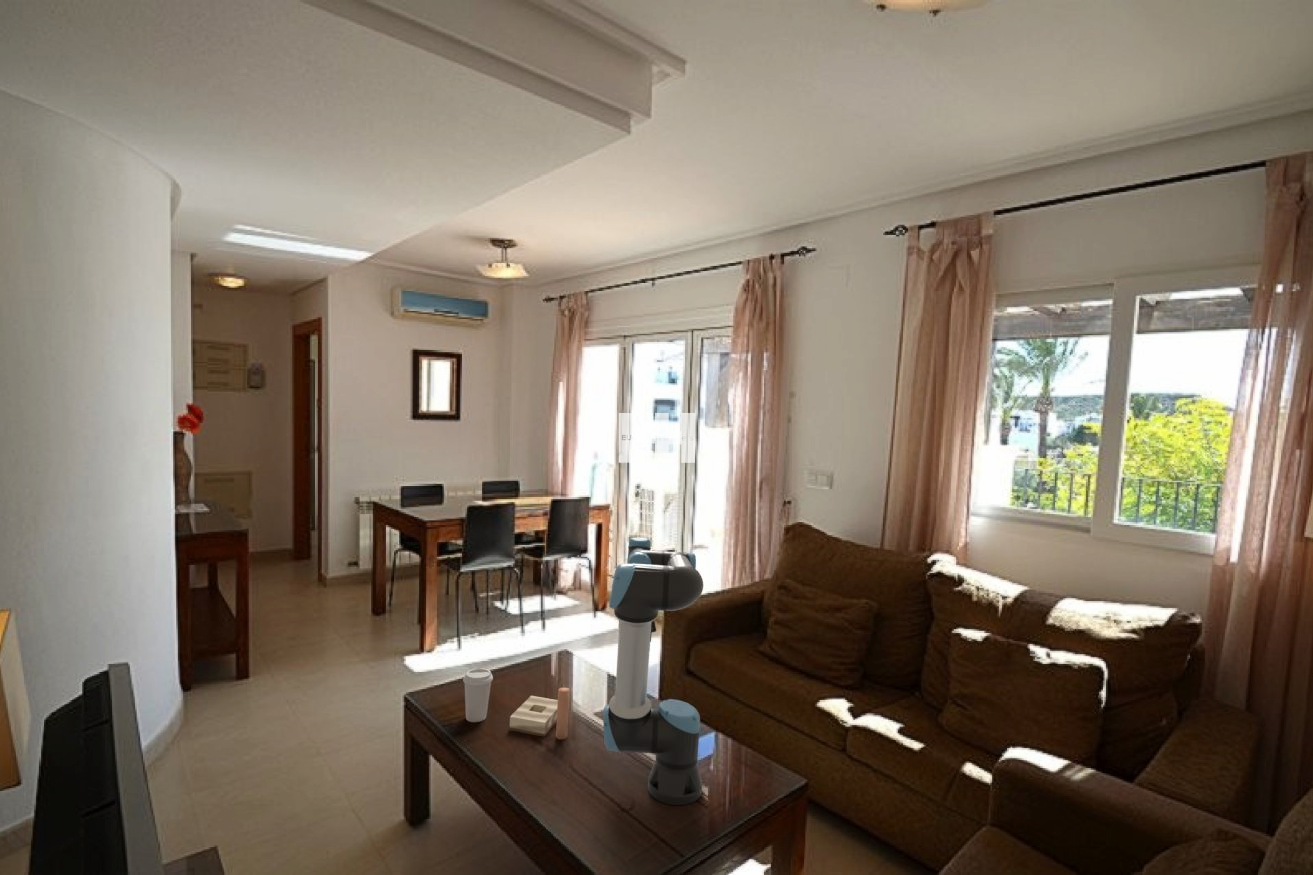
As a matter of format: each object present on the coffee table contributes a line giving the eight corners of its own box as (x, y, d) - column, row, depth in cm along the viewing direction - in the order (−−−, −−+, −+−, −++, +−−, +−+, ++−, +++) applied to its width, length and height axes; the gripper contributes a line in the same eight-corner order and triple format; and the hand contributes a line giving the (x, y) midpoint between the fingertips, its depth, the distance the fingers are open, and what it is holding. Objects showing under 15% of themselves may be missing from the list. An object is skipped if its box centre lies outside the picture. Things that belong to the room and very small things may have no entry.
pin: (564, 740, 197) (567, 693, 196) (553, 738, 198) (556, 691, 197) (568, 734, 200) (571, 688, 200) (558, 732, 201) (560, 686, 201)
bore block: (544, 736, 198) (545, 722, 198) (509, 730, 201) (510, 716, 201) (563, 714, 214) (563, 701, 214) (530, 708, 216) (531, 695, 216)
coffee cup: (495, 712, 212) (497, 668, 212) (484, 725, 203) (487, 680, 202) (467, 709, 213) (470, 665, 213) (456, 722, 204) (458, 677, 203)
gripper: (669, 590, 207) (665, 654, 207) (624, 573, 226) (621, 632, 226) (651, 593, 202) (647, 658, 202) (607, 576, 221) (604, 635, 222)
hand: (633, 644), depth 214 cm, fingers open, 13 cm apart
